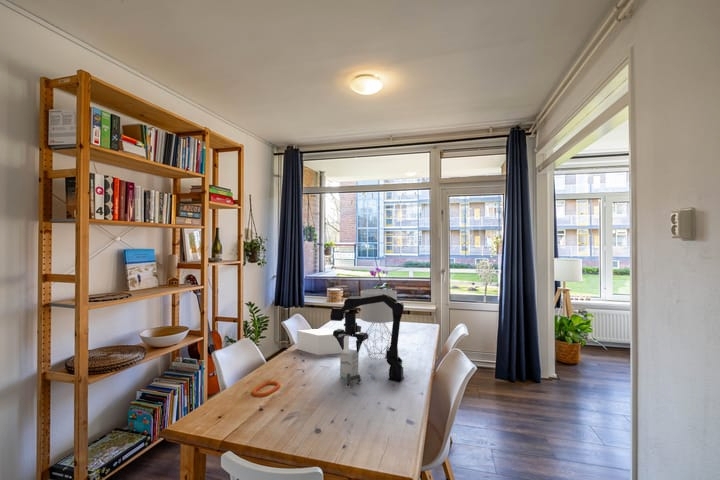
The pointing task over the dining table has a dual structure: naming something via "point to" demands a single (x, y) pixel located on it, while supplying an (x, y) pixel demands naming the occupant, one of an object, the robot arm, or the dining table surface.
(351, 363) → the supplement box
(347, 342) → the block
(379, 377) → the dining table surface
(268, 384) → the orange oval ring
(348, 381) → the grey cabinet handle
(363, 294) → the table lamp
